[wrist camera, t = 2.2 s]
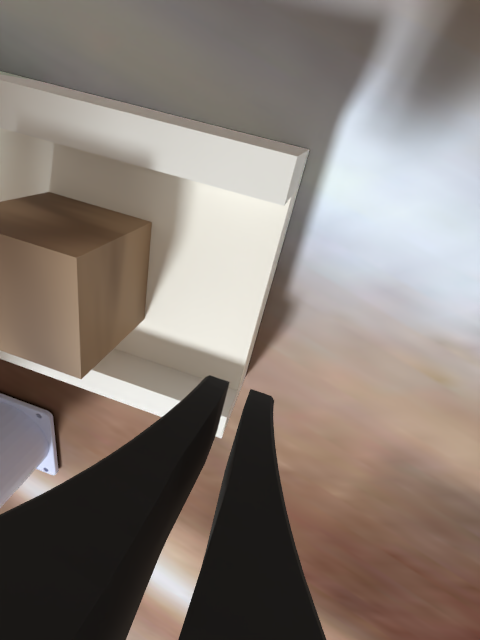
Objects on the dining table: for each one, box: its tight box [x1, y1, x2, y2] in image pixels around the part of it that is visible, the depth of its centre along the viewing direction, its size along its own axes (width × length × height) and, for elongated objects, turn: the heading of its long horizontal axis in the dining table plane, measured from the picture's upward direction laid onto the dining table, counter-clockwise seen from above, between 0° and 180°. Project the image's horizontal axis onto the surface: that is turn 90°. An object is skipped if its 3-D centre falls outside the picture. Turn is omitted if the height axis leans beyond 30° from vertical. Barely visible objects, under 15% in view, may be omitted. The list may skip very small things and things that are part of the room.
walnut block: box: [0, 192, 152, 379], centre depth 14 cm, size 5×5×5 cm
